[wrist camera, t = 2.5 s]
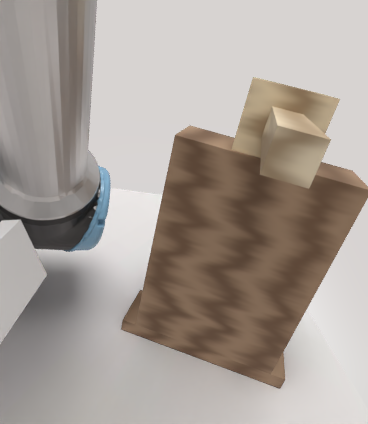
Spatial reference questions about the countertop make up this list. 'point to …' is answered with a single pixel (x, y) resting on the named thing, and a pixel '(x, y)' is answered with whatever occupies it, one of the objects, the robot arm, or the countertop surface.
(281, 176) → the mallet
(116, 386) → the countertop surface
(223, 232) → the stand
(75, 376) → the countertop surface
